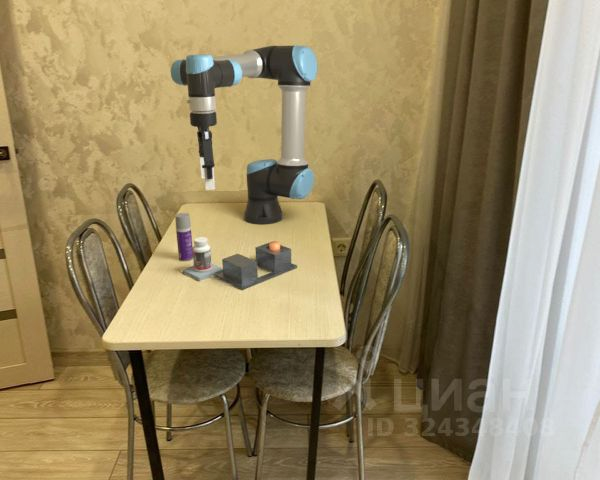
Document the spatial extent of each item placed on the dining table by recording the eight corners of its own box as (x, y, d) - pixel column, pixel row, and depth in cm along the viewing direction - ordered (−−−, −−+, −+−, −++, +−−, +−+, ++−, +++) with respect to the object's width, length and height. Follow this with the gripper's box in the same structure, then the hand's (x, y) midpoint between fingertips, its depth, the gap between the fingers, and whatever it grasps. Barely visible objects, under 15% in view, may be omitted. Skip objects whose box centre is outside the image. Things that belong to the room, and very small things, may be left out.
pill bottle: (190, 270, 166) (187, 240, 163) (201, 264, 171) (199, 235, 168) (204, 273, 164) (202, 243, 161) (215, 267, 169) (213, 237, 165)
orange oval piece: (275, 255, 174) (274, 240, 172) (282, 258, 171) (282, 243, 170) (267, 258, 171) (266, 243, 170) (274, 261, 169) (274, 246, 167)
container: (190, 262, 175) (186, 217, 170) (176, 260, 176) (172, 217, 171) (195, 256, 180) (192, 213, 174) (182, 255, 181) (178, 212, 175)
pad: (206, 264, 174) (206, 261, 173) (223, 272, 168) (223, 269, 167) (182, 272, 168) (182, 269, 167) (199, 281, 162) (199, 277, 161)
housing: (269, 256, 179) (268, 239, 177) (297, 267, 170) (297, 250, 168) (215, 276, 164) (213, 258, 162) (242, 290, 156) (241, 271, 154)
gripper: (186, 106, 166) (192, 174, 174) (193, 118, 143) (199, 195, 151) (211, 105, 168) (215, 173, 175) (221, 116, 145) (226, 193, 153)
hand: (208, 183), depth 163 cm, fingers open, 13 cm apart
